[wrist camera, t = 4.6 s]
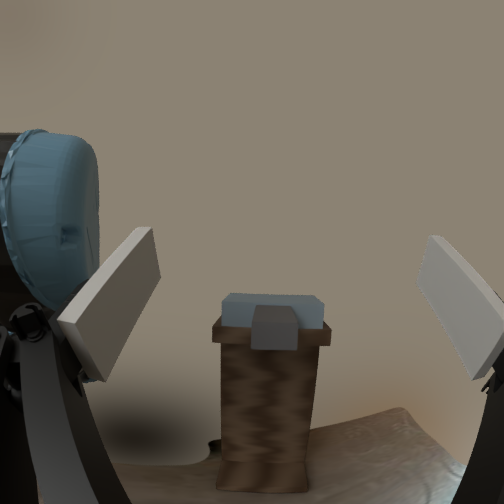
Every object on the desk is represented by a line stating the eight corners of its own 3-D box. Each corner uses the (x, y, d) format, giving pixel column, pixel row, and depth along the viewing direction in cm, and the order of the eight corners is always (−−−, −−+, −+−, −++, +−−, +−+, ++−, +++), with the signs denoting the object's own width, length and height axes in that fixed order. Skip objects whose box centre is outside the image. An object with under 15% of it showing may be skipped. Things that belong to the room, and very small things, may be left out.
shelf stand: (216, 489, 32) (212, 326, 33) (223, 457, 41) (223, 312, 42) (306, 492, 31) (331, 329, 32) (301, 460, 40) (318, 315, 41)
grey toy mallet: (205, 348, 24) (205, 316, 24) (230, 313, 41) (230, 293, 41) (340, 352, 23) (343, 320, 24) (312, 315, 40) (313, 295, 41)
